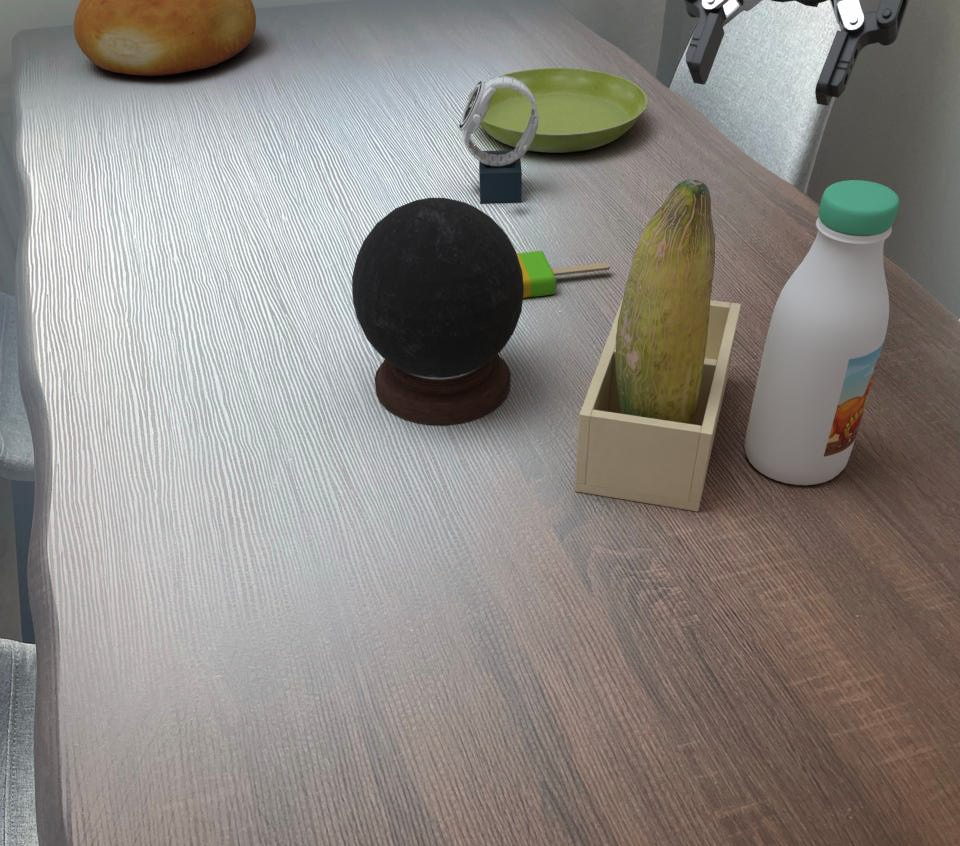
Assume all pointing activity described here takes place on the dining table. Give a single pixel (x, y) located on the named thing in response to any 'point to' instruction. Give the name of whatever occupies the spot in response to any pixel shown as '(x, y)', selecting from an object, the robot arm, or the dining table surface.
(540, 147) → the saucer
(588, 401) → the wooden divided box
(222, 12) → the bread
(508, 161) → the watch
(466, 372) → the black ball on stand
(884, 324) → the milk bottle
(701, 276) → the vegetable
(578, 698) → the dining table surface
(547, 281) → the popsicle
